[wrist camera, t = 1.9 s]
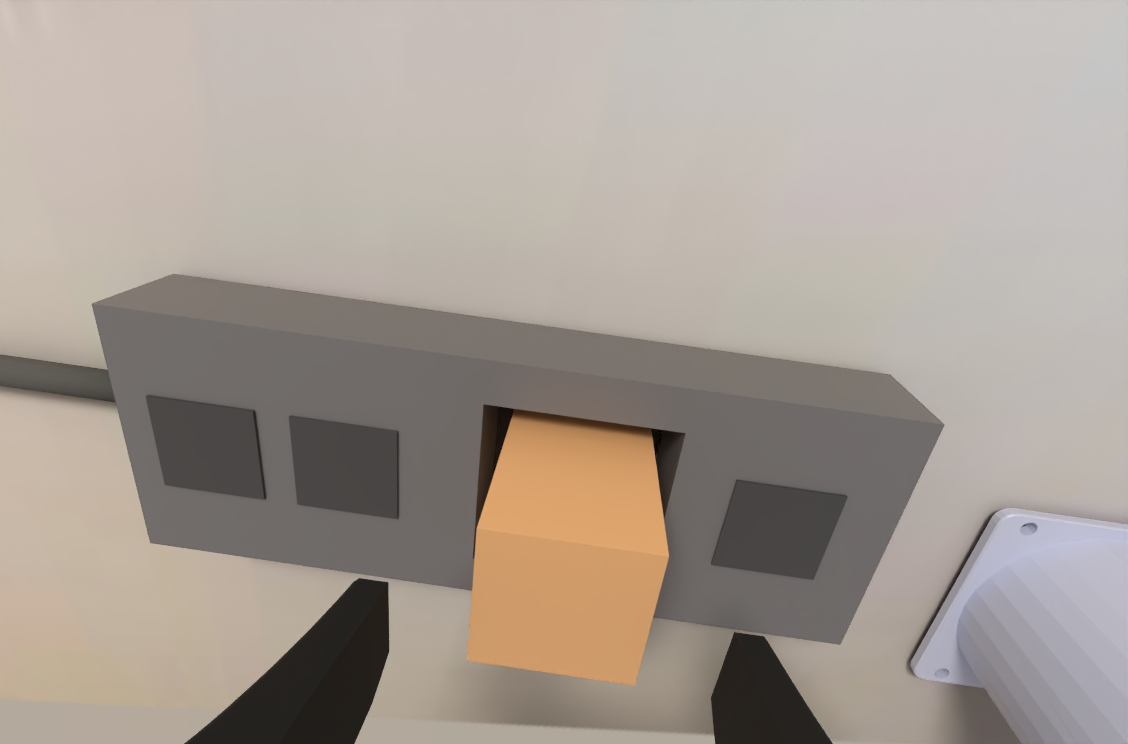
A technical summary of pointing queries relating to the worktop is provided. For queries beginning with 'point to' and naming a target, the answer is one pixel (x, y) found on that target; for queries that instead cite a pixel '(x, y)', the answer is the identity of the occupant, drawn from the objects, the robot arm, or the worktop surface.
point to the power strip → (491, 442)
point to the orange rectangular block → (569, 549)
